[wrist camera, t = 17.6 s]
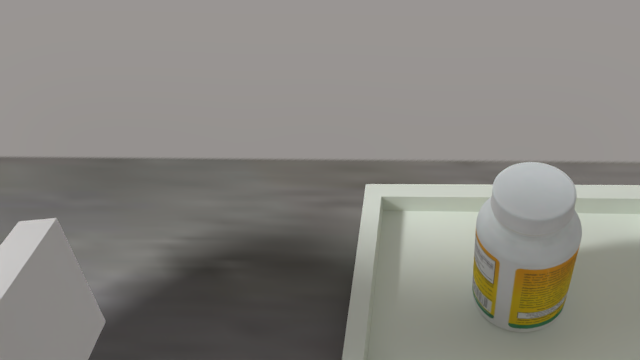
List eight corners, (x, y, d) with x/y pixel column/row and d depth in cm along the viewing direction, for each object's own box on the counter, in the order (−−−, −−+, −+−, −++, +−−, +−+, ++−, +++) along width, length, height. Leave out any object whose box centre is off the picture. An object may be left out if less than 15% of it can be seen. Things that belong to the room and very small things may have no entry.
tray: (342, 417, 34) (336, 398, 32) (369, 207, 45) (365, 184, 43) (739, 453, 30) (757, 432, 28) (663, 211, 41) (672, 185, 39)
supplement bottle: (457, 311, 37) (458, 205, 30) (494, 249, 39) (503, 140, 33) (545, 351, 34) (568, 246, 27) (578, 282, 37) (606, 171, 30)
